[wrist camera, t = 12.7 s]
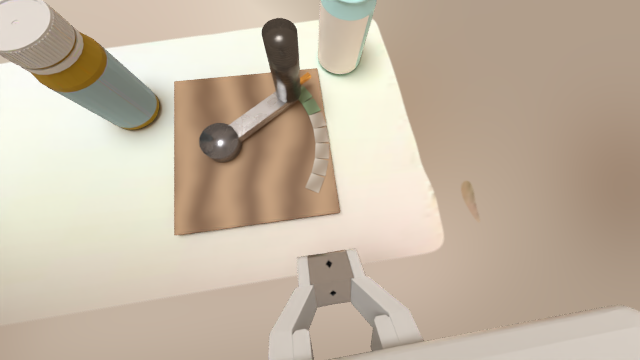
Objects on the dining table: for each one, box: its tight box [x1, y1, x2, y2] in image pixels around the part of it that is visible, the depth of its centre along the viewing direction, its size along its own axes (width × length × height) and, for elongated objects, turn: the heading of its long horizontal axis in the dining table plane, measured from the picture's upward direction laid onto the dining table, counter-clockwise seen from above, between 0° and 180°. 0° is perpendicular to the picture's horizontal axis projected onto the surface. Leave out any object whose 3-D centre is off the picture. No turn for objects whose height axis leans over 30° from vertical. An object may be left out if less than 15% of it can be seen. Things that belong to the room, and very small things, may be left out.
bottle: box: [0, 0, 159, 130], centre depth 27 cm, size 7×7×15 cm
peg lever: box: [199, 18, 311, 162], centre depth 28 cm, size 18×5×12 cm, turn 131°
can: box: [318, 0, 376, 74], centre depth 32 cm, size 7×7×12 cm
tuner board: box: [174, 68, 340, 235], centre depth 33 cm, size 22×23×1 cm
